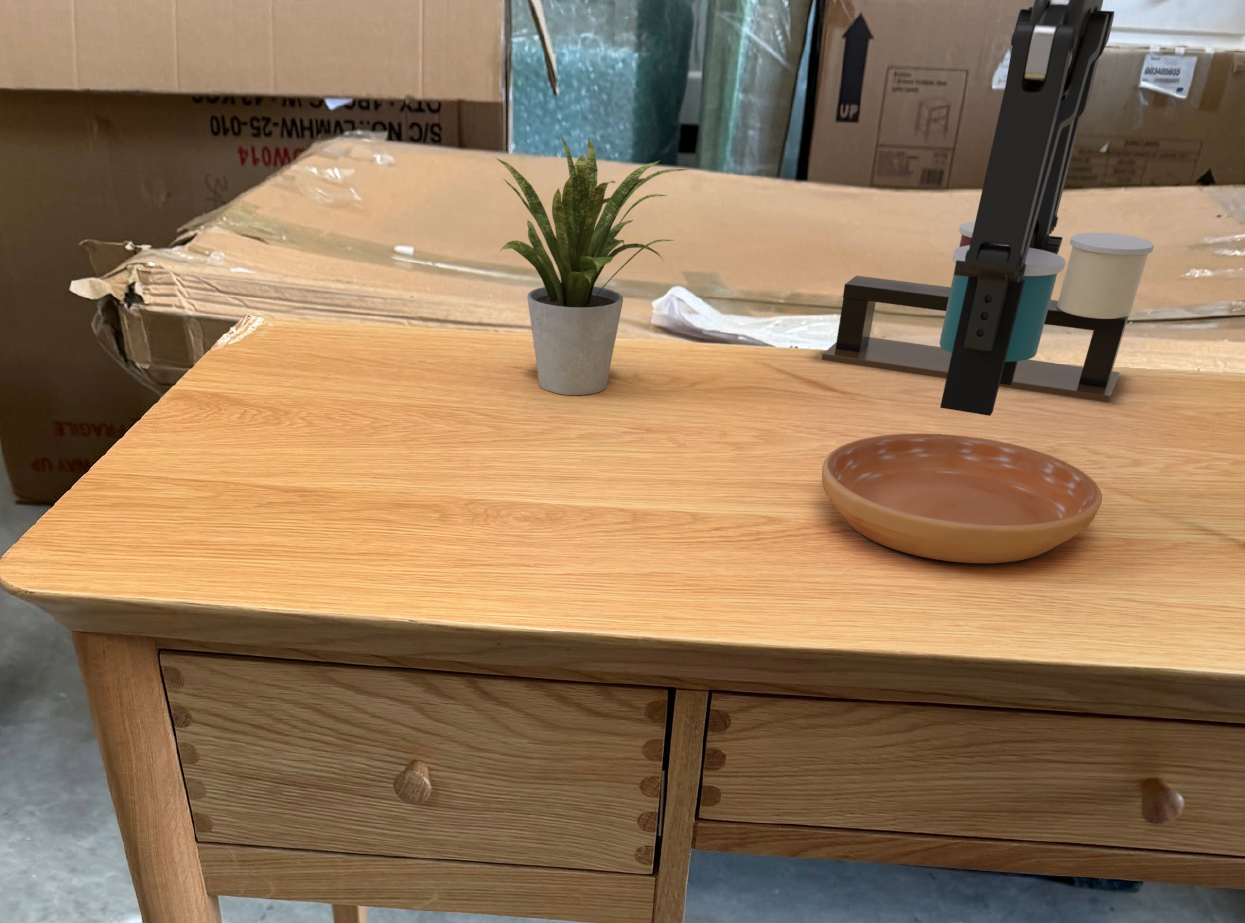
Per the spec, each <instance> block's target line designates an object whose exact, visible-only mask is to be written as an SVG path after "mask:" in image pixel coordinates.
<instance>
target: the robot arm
mask: <svg viewBox="0 0 1245 923" xmlns="http://www.w3.org/2000/svg"><path fill="white" fill-rule="evenodd" d="M1103 4H1104V0H1034V3H1033V6H1029V7H1028V9H1027V8H1021V9H1020V10H1019V12H1018V15H1017V19H1016V24H1015V27H1014V31H1013V33H1012V35H1011V40H1010V46H1011V50H1010V58H1009V63H1008V68H1007V75H1006V80H1005V86H1004V90H1003V95H1002V100H1001V103H1000V109H999V114H998V117H997V122H996V127H995V132H994V136H993V140H992V145H991V149H990V155H989V158H988V163H987V167H986V171H985V177H984V181H983V185H982V189H981V194H980V198H979V202H978V208H977V212H976V217H975V220H974V221H975V225H974V230H973V234H972V239H971V243H970V248H969V250H967V253H966V256H965V261H958V260H957V261H956V263H955V265H954V270H955V272H954V271H953V275H954V274H955V275H957V276H965V277H969V278H968V282H967V287H966V291H965V296H964V300H963V305H962V310H961V314H960V319H959V323H958V328H957V332H956V337H955V342H954V346H953V351H952V355H951V360H950V365H949V369H948V374H947V378H945V383H944V388H943V392H942V398H941V402H940V406H939V409H946V410H952V411H957V412H964V413H970V414H977V415H982V416H988V417H990V416H992V414H993V412H994V409H995V405H996V401H997V396H998V392H999V388H1000V386H999V384H1005V385H1011V384H1012V382H1013V378H1014V374H1015V370H1016V366H1017V362H1018V361H1015V362H1005V360H1006V356H1007V352H1008V348H1009V344H1010V340H1011V336H1012V332H1013V327H1014V323H1015V319H1016V315H1017V311H1018V307H1019V303H1020V299H1021V295H1022V291H1023V287H1024V283H1025V280H1022V279H1020V278H1021V277H1022V276H1023V275H1024V273H1025V269H1026V264H1025V261H1026V257H1027V253H1028V250H1029V248H1034V249H1039V250H1044V251H1048V252H1051V253H1054V254H1057V255H1059V252H1060V248H1061V245H1062V242H1063V236H1054V235H1052V233H1053V232H1054V231H1055V228H1056V227H1057V225H1058V221H1059V216H1058V214H1059V213H1058V212H1059V208H1060V204H1061V200H1062V196H1063V192H1064V188H1065V185H1066V180H1067V176H1068V172H1069V168H1070V164H1071V160H1072V157H1073V152H1074V148H1075V145H1076V140H1077V135H1078V131H1079V128H1080V123H1081V120H1082V115H1083V114H1084V111H1085V109H1086V108H1087V106H1088V103H1089V101H1090V98H1091V95H1092V90H1093V86H1094V82H1095V77H1096V72H1097V69H1098V64H1099V59H1100V57H1101V56H1102V55H1103V53H1104V50H1105V49H1106V46H1107V44H1108V42H1109V40H1110V35H1111V32H1112V26H1113V22H1114V19H1115V10H1102V8H1103ZM991 243H996V244H998V245H994V244H991ZM1003 245H1009V246H1003Z"/></svg>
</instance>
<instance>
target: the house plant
mask: <svg viewBox="0 0 1245 923" xmlns="http://www.w3.org/2000/svg"><path fill="white" fill-rule="evenodd" d="M559 135H560V138H561V141H562V144H563V148H564V152H565V156H566V161H567V167H568V175H569V178H568V179H567V180H566V181H565V183H564V185H563V189H562V193H561V191H560V188H558V189H556V191H555V193H554V195H553V198H552V202H551V203H552V204H551V215H552V220H553V224H554V230H553V228H552V225H551V222H550V219H549V216H548V214H547V211H546V209H545V207H544V205H543V203H542V201H541V199H540V198H539V195H538V194H537V192H536V190H535V189H534V187H533V186H532V184H531V183H530V182H529V181H528V180H527V179H526V177H525V176H523V175H522V173H520V172H519V171H518V170H517V169H515V167H513V166H512V165H511V164H509V162H507V161H505V160H502V159H500V158H497V157H495V159H496V160H497V161H498V162H500V163H501V164H502V165H503V166H504V167H505V168H506V169H507V170H508V172H509V173H510V174H511V175H512V177H513V178H514V180H515V181H516V183H517V185H518V187H519V188H520V190H521V192H522V193H523V195H524V197H523V196H522V194H521V193H520V191H519V190H518V189H517V188H516V187H515V186H514V185H512V184H511V183H510V182H509V181H508V180H506V179H505V178H503V181H505V183H506V184H507V185H508V187H510V188H511V189H512V190H513V191H514V192H515V193H516V195H517V196H518V197H519V198H520V200H521V202H522V203H523V205H524V206H525V208H526V209H527V210H528V211H529V213H530V214H531V216H532V217H533V219H534V220H535V222H536V224H537V226H538V228H539V229H540V232H541V234H542V236H543V239H544V240H545V243H546V245H547V248H548V250H549V252H550V254H551V257H552V258H553V260H554V263H555V265H556V267H557V270H558V273H559V275H560V278H559V276H558V275H557V271H556V269H555V266H554V263H553V261H552V260H551V257H550V256H549V254H548V252H547V250H546V248H545V247H544V244H543V241H542V240H541V238H540V237H539V235H538V233H537V231H536V228H535V226H534V224H533V222H532V221H530V220H528V219H527V220H526V221H527V223H526V225H527V238H528V240H529V243H530V244H531V245H530V244H527V243H526V242H523V241H520V240H510V241H508V242H506V244H504V245H503V246H502V247H501V249H500V250H499V252H502V251H503V250H509V249H510V250H511V249H512V250H514V251H515V252H516V253H518V254H520V255H521V256H522V257H523V258H524V259H525V260H526V261H528V263H530V264H531V265H532V266H533V267H534V268H535V270H536V272H537V273H538V275H539V277H540V278H541V281H542V283H543V287H537V288H535V289H532V290H531V291H529V292H528V293H527V306H528V311H529V319H530V326H531V333H532V334H531V335H532V342H533V350H534V356H535V363H536V370H537V377H538V385H539V387H541V389H543V390H545V391H548V392H551V393H554V394H558V395H566V396H586V395H593V394H597V393H600V392H602V391H604V390H605V389H606V388H607V385H608V379H609V375H610V369H611V364H612V359H613V353H614V348H615V345H616V344H615V343H616V339H617V333H618V329H619V323H620V320H621V319H620V318H621V315H622V314H621V313H622V308H623V303H624V296H623V295H622V294H621V293H619V292H617V291H615V290H613V289H609V288H605V287H606V285H608V283H609V282H610V281H611V280H612V279H613V278H614V277H615V276H616V275H617V274H618V273H619V272H620V271H621V270H622V269H623V268H624V267H625V266H626V265H627V264H628V263H629V262H630V261H632V259H633V258H634V257H635V256H636V255H638V254H639V253H640V252H642V251H643V250H644V249H645V250H647V251H651V252H652V253H654V254H656V255H658V257H660V258H661V260H662V262H663V263H665V262H664V258H663V257H662V256H661V255H660V253H659V252H658V251H656V250H654V249H653V248H651V247H650V246H651V245H652V244H655V243H658V242H659V243H660V242H672V241H674V239H664V238H663V239H657V240H653V241H651V242H649V243H646V244H642V243H635V242H634V243H627V244H625V240H624V239H618V238H616V237H617V236H618V234H619V233H620V232H621V230H622V229H623V228H624V227H625V225H628V224H630V223H632V222H634V219H632V220H626V221H625V220H624V219H625V218H626V217H627V215H628V214H629V212H630V211H631V210H632V209H634V208H635V207H636V206H637V205H638V204H640V203H641V202H643V201H644V200H646V199H649V198H655V197H668V195H666V194H660V193H659V194H658V193H654V194H653V193H652V194H649V195H648V194H647V195H645V196H643V197H640V198H639V199H638V200H637V201H635V203H633V204H632V205H631V206H630V207H629V208H628V210H627V211H626V212H625V214H624V215H623V217H622V218H621V220H620V221H619V222H618V223H617V224H616V225H614V226H613V224H614V223H615V220H616V218H617V216H618V215H619V212H621V209H622V207H623V206H624V205H625V204H626V202H627V201H628V200H629V198H630V197H631V196H632V195H633V194H634V193H635V192H636V191H637V190H638V189H639V188H640V187H642V186H643V185H645V184H646V183H647V182H648V181H650V180H652V179H654V178H655V177H657V176H660V175H662V174H666V173H672V172H681V171H689V170H690V168H688V169H687V168H669V169H662V170H659V171H656V172H654V173H651V174H649V175H647V176H646V177H644V178H641V177H642V175H643V174H644V173H645V172H646V171H647V170H648V169H649V168H651V167H654V166H655V165H657V164H658V163H659V162H660V160H657V161H653V162H650V163H647V164H644V165H642V166H640V167H638V168H636V169H635V170H634V171H632V172H631V173H630V174H628V176H626V178H624V180H623V181H622V182H621V183H620V184H619V185H618V186H617V188H616V189H615V191H613V193H612V194H611V196H610V197H607V198H605V194H606V191H607V188H608V186H609V184H616V181H614V180H610V181H608V182H601V183H599V184H598V173H599V172H598V171H599V170H598V165H597V158H596V152H595V147H594V145H593V142H592V140H591V137H590V135H589V136H588V138H587V149H586V157H585V155H584V153H583V154H581V155H580V156H579V157H578V158H577V160H576V162H575V163H574V160H573V158H572V155H571V151H570V149H569V147H568V146H569V145H568V144H567V142H566V140H565V139H564V137H563V136H562V135H561V134H559ZM525 199H526V200H525ZM604 204H605V205H604ZM603 206H604V208H603ZM602 209H603V211H602ZM601 211H602V212H601ZM600 214H601V215H600ZM599 216H600V217H599ZM598 218H599V219H598ZM623 220H624V221H623ZM554 231H555V232H554ZM621 243H622V245H621V246H619V245H620V244H621ZM617 246H618V247H617ZM636 248H637V249H638V248H640V249H639V250H637V251H636V253H634V254H633V255H632V256H631V257H630V258H628V260H627V261H625V263H624V264H623V265H622V266H620V268H619V269H618V270H617V271H615V273H614V274H613V275H612V276H611V277H610V278H609V279H608V280H607V281H606V282H605V284H604V285H602V287H599V286H595V284H596V282H597V280H598V278H599V277H600V275H601V273H602V271H603V270H604V268H605V266H606V265H607V264H609V263H611V262H612V260H613V259H614V257H616V256H617V255H618V254H619V253H622V252H624V251H626V250H627V249H636Z"/></svg>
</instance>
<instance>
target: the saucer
mask: <svg viewBox="0 0 1245 923" xmlns="http://www.w3.org/2000/svg"><path fill="white" fill-rule="evenodd" d="M821 468H822V469H821V484H822V489H823V491H824V493H825V495H826V496H827V497H828V498H829V500H830V502H831V503H832V505H833V507H834V508H835V509H836V510H837V512H839V513H840V514H841V516H842V517H843V518H844V520H845V521H846V522H847V524H848V525H850V527H851V528H853V529H854V530H855V531H857V532H858V533H859V534H860V535H862V536H863V537H865V538H867V539H869V540H870V541H873V542H875V543H877V544H880V545H881V546H883V547H886V548H890V549H892V550H895V551H899V552H902V553H905V554H909V555H912V556H917V557H922V558H927V559H932V560H938V561H945V562H951V563H952V562H953V563H963V564H964V563H965V564H1003V563H1011V562H1018V561H1019V562H1020V561H1023V560H1028V559H1032V558H1035V557H1038V556H1041V555H1042V554H1045V553H1047V552H1048V551H1051V550H1052V549H1054V548H1055V547H1058V545H1061V544H1063V543H1066V542H1068V541H1069V540H1071V539H1072V538H1073V537H1075V536H1076V535H1077V534H1080V533H1081V532H1083V531H1084V530H1086V529H1087V528H1088V527H1089V526H1090V525H1091V524H1092V523H1093V521H1094V519H1095V517H1096V515H1097V514H1098V511H1099V510H1100V508H1101V505H1102V501H1103V495H1102V490H1101V489H1100V487H1099V485H1098V484H1097V483H1096V481H1094V479H1093V478H1092V477H1091V476H1090V475H1088V474H1087V473H1086V472H1085V471H1083V470H1081V469H1079V468H1077V467H1076V466H1074V465H1072V464H1070V463H1069V462H1066V461H1064V460H1062V459H1060V458H1057V457H1056V456H1053V455H1050V454H1047V453H1045V452H1041V451H1039V450H1036V449H1032V448H1029V447H1026V446H1023V445H1018V444H1013V443H1009V442H1004V441H1000V440H996V439H990V438H982V437H977V436H976V437H975V436H968V435H966V436H965V435H960V434H959V435H958V434H949V433H948V434H947V433H921V432H919V433H918V432H917V433H916V432H915V433H896V434H895V433H894V434H892V433H891V434H883V435H876V436H870V437H865V438H861V439H856V440H853V441H850V442H847V443H844V444H842V445H840V446H839V447H836V448H835V449H834V450H832V451H831V452H830V453H829V454H828V455H827V456H826V457H825V459H824V461H823V464H822V467H821Z"/></svg>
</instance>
